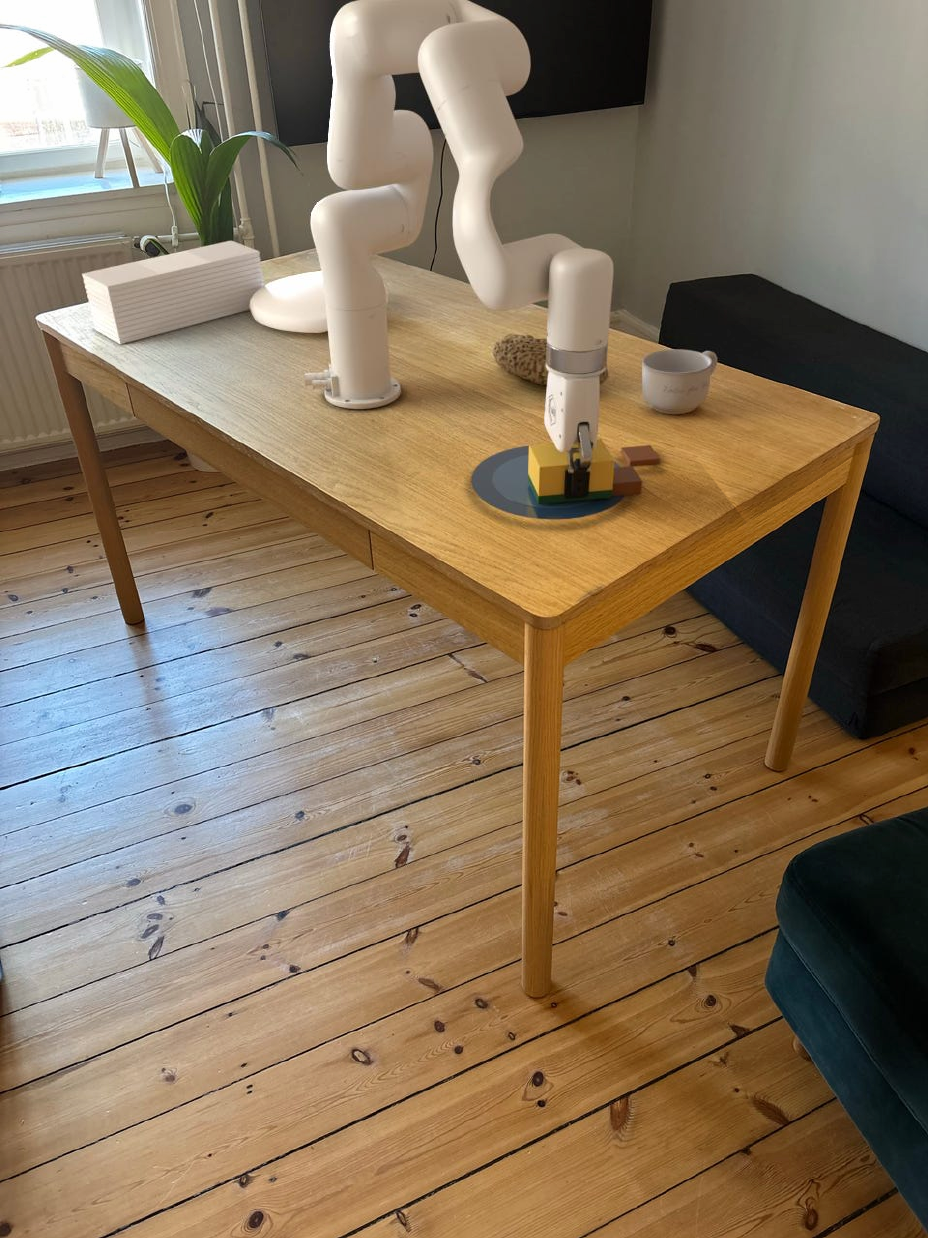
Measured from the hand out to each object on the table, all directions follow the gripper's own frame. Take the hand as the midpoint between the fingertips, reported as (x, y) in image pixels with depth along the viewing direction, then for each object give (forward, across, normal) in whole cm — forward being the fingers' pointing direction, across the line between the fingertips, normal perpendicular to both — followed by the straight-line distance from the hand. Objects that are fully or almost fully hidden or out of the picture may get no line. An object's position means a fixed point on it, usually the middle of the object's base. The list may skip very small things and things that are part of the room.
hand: (569, 483), depth 132 cm
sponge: (+3, -41, +7) cm, 42 cm away
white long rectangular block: (+3, -86, -57) cm, 103 cm away
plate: (+3, -82, -30) cm, 87 cm away
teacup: (+3, -27, +25) cm, 37 cm away
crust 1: (+3, -8, +12) cm, 15 cm away
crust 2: (+1, 0, +7) cm, 7 cm away
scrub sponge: (+1, 0, 0) cm, 1 cm away
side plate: (+3, -4, -2) cm, 5 cm away
